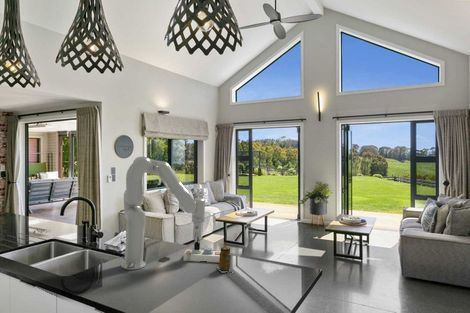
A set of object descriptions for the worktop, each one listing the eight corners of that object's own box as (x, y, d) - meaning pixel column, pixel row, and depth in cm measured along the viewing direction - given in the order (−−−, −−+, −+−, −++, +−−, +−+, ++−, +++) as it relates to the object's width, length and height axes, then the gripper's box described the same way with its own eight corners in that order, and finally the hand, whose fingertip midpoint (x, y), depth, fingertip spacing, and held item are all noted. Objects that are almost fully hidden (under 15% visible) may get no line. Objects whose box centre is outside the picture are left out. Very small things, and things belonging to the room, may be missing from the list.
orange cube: (222, 260, 177) (222, 254, 177) (215, 259, 177) (215, 253, 177) (222, 257, 181) (223, 251, 181) (215, 257, 181) (216, 251, 181)
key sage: (199, 256, 177) (199, 250, 177) (192, 256, 177) (192, 250, 177) (200, 254, 181) (200, 248, 181) (193, 253, 181) (193, 248, 181)
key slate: (211, 255, 177) (211, 250, 177) (203, 255, 177) (204, 249, 177) (211, 253, 181) (212, 247, 181) (204, 253, 181) (204, 247, 181)
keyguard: (226, 262, 174) (226, 255, 174) (183, 260, 174) (183, 253, 174) (227, 257, 184) (227, 250, 184) (186, 255, 184) (186, 248, 184)
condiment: (228, 267, 167) (229, 246, 167) (233, 272, 159) (234, 250, 159) (216, 268, 165) (217, 246, 165) (220, 274, 157) (221, 251, 157)
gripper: (202, 222, 172) (201, 253, 172) (205, 216, 187) (204, 245, 187) (190, 221, 172) (188, 253, 172) (193, 216, 187) (192, 245, 187)
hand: (196, 249), depth 179 cm, fingers closed
